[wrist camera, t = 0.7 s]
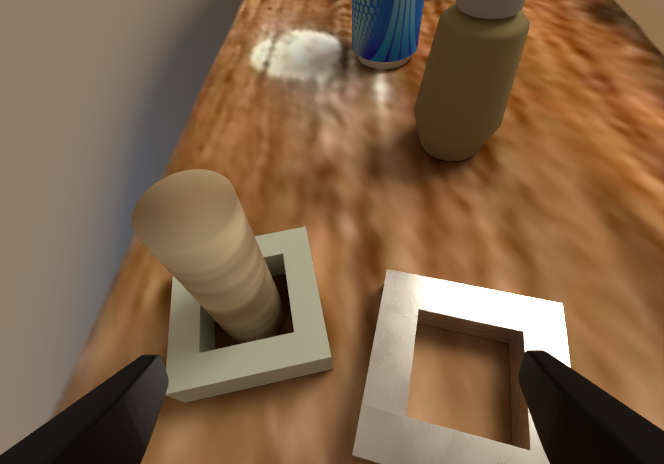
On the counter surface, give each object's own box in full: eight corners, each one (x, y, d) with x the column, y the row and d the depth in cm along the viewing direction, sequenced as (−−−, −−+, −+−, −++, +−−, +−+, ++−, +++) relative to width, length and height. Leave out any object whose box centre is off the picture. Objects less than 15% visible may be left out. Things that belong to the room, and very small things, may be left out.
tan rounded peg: (288, 338, 25) (237, 237, 14) (225, 352, 24) (124, 259, 14) (281, 282, 27) (233, 161, 16) (224, 294, 27) (138, 179, 16)
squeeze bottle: (448, 183, 32) (529, -61, 17) (392, 138, 36) (419, -91, 21) (507, 147, 34) (621, -95, 20) (448, 108, 38) (506, -117, 24)
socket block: (564, 520, 18) (591, 527, 16) (352, 456, 20) (352, 454, 18) (545, 317, 24) (562, 303, 22) (384, 284, 26) (387, 269, 24)
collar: (333, 368, 23) (331, 357, 21) (184, 402, 22) (163, 394, 20) (309, 247, 29) (305, 226, 26) (190, 271, 28) (174, 252, 26)
